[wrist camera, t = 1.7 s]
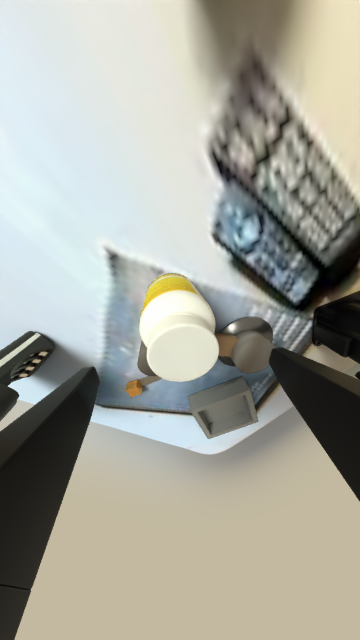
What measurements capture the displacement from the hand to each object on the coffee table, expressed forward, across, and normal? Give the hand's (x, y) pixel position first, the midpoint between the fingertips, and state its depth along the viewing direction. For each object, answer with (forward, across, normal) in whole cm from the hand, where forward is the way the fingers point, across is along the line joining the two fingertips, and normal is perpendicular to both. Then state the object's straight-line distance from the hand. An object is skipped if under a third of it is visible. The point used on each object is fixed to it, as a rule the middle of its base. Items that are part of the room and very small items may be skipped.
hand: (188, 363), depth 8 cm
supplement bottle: (+10, 0, 0) cm, 11 cm away
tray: (+10, -8, +20) cm, 23 cm away
